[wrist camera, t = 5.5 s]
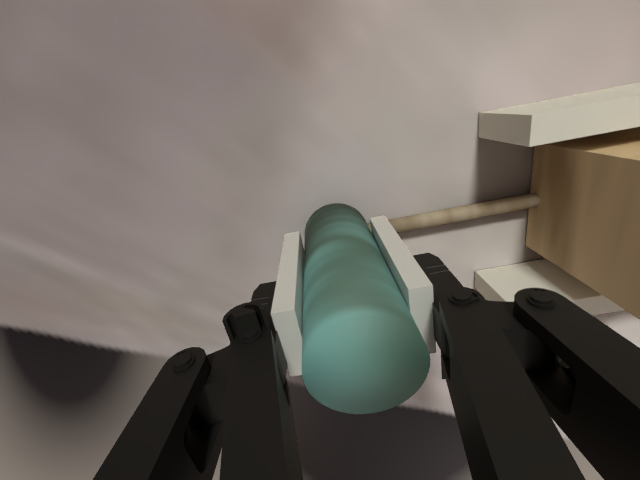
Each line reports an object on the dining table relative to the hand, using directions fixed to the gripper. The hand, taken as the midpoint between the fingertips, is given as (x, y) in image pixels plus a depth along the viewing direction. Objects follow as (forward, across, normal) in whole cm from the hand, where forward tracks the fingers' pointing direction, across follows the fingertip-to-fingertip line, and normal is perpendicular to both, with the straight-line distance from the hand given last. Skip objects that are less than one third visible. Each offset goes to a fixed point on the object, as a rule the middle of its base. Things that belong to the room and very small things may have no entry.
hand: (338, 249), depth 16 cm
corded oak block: (+2, +8, 0) cm, 8 cm away
